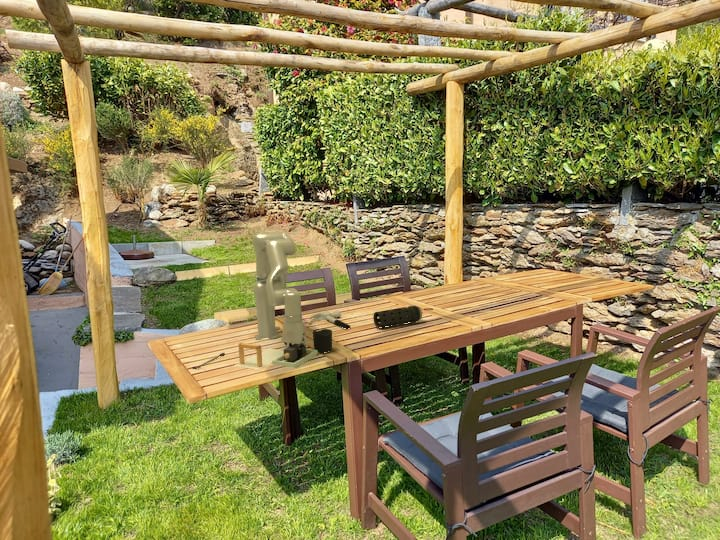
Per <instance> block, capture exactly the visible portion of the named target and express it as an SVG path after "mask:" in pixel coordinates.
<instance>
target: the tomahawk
mask: <svg viewBox="0 0 720 540" xmlns="http://www.w3.org/2000/svg"><path fill="white" fill-rule="evenodd" d="M225 355H226V353H225V352H221V353H220V354H219V355H218V356H216V357H213V358H212V359H210V360H208V361H206V362H203V363H202V364H200V365H198V366H192V370H197V369H198V370H197V371H200V370H199V369H201V368H202V367H204V366H206V365H207V364H209V363H211V362H213V361H216V360H217V358H218V357H219V356H222V357H223V356H225ZM215 359H216V360H215ZM218 359H219V358H218ZM201 366H202V367H201Z"/></svg>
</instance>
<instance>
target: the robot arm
mask: <svg viewBox="0 0 720 540" xmlns="http://www.w3.org/2000/svg"><path fill="white" fill-rule="evenodd" d="M252 245H253V246H252V247H253V248H254V251H255V256H256V257H255V273H256V276H257V278H259V279H261V280H258V281H256V282H254V284H253V287H252V289H253V293H254V299H255V307H256V320H257V323H256V324H257V325H256V326H257V334H256V335H255V339H256V340H259V341H261V340H275V339H277V338H279V336H280V335H279V333H278V331H279V330H280V329H281V327H280V325H279V326H276V316H275V315H276V313H275V310H276V309H275V307H278V306H279V307H280V306H284V314H283V317H282V318H284V321H283V325H282V338H281V339H280V340H281V342H282V343H283V344H284V345H285V346H286V348H287V347H289V346H291V345H293V344H297V346H298V350H297V354H298V358H297V359H301V358H303V350H302V348H303V347H304V346H305V345H306V346H307V345H308V344H309V341H308V339H307V337H306V330H305V329H306V328H305V324H304V321H303V319H302V318H303V316H302V298H301V297H302V296H301V293H300V292H299V291H298V290H297V289H296V288H293V287H291V288H290V287H289V288H287V273H288V271H289V269H290V266H289V263H288V259H287V256H293V255H295V254H296V252H297V246H296V243H295V240H293V238H292V237H291V236H290V235H289V234H288V233H287V232H285V231H271V232H259V233H255V234H254V235H253V236H252Z"/></svg>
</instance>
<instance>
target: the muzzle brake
mask: <svg viewBox="0 0 720 540" xmlns="http://www.w3.org/2000/svg"><path fill="white" fill-rule="evenodd" d="M422 318H423V312H422V308H421V307H420V306H418V305H409V306H407V307H405V306H404V307H399V308H393V309H386V310H381V311H380V310H379V311H375V312H374V313H373V318H372V319H373V323H374V326H375V327H376V328H377V327H378V328H379V327H385V326H391V325H397V324H399V325H404V324H403V323H408V322H411V323H415V322H416V321H417V322H419V321H420V320H422ZM397 326H398V325H397ZM378 328H377V329H378Z"/></svg>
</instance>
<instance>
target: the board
mask: <svg viewBox="0 0 720 540" xmlns="http://www.w3.org/2000/svg"><path fill="white" fill-rule="evenodd" d="M282 355H284V349H275V348H266V349H264V350H262V366H260V367H259V366H257V353H256V354H254V355H252V356H250V357H248V358H245V359H244V360H245V362H244V363H242V364H240V362H238V363H237V364H234V365H233V366H234V367H238V368H239V367H240V368H246V369H251V370H257V371H259V370H261V369H263V368H264V367H266V366H268V365H270V364H272V360H274V359H276V358H278V357H280V356H282Z"/></svg>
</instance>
